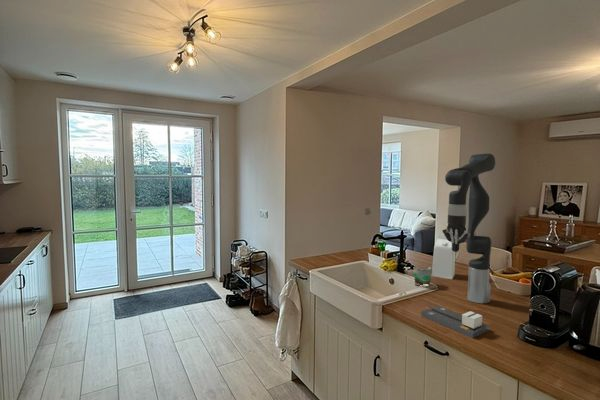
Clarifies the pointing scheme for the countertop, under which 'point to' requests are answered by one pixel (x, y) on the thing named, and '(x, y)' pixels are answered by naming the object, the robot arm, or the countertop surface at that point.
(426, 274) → the food container
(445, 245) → the milk
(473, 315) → the fader knob
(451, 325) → the fader console
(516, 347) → the countertop surface
